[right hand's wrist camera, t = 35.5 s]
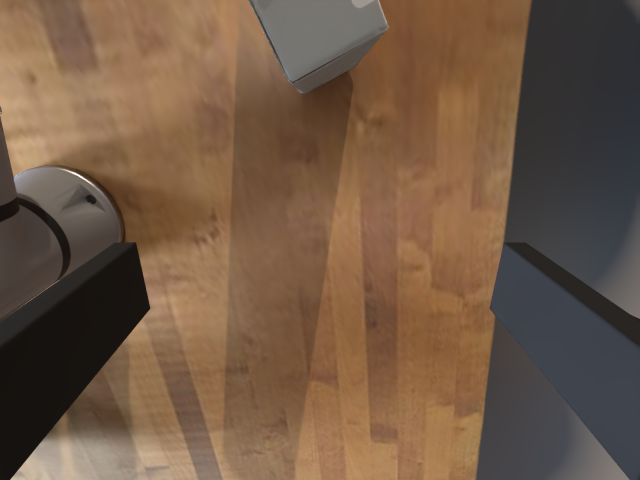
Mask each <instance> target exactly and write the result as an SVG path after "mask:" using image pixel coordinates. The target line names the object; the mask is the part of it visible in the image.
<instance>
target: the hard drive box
mask: <svg viewBox="0 0 640 480" xmlns="http://www.w3.org/2000/svg"><path fill="white" fill-rule="evenodd" d="M249 2H250V4H251V7H252V9H253V11H254V13H255V15H256V17H257V19H258V21H259V23H260V25H261V27H262V30H263V32H264V34H265V36H266V38H267V40H268V42H269V44H270V46H271V48H272V50H273V52H274V54H275V56H276V58H277V60H278V62H279V64H280V66H281V68H282V70H283V72H284V74H285V76H286V78H287V79H288V81H289V82H290V83H291V84H292V85H293V86H294V87H295V88H296V89H297V90H298V91H299V92H300V93H304V94H306V93H308V92H310V91H312V90H314V89H316V88H318V87H319V86H321V85H323V84H325V83H327V82H328V81H330V80H332V79H334V78H336V77H337V76H339V75H341V74H343V73H345V72H346V71H348V70H350V69H352V68H353V67H355V66H356V65H357V64H358V63H359V61H360V60H361V59H362V58H363V57H364V56H365V55H366V53H367V52H368V51H369V50H370V49H371V48H372V47H373V45H374V44H375V43H376V42H377V41H378V39H379V38H380V37H381V36H382V34H383V33H384V32H385V31H386V30H388V29H389V26H388V24H387V21H386V19H385V16H384V13H383V11H382V8H381V5H380V2H379V0H249Z"/></svg>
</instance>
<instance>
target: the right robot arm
mask: <svg viewBox="0 0 640 480" xmlns="http://www.w3.org/2000/svg"><path fill="white" fill-rule="evenodd" d="M0 113H2V110H1V107H0ZM123 239H124V223H123V218H122V215H121V212H120V210H119V208H118V206H117V204H116V202H115V200H114V199H113V198H112V196H111V195H110V194H109V192H108V191H107V190H106V189H105V188H104V187H103V186H102V185H101V184H99V183H98V182H97V181H96V180H94V179H93V178H91V177H90V176H88V175H86V174H85V173H83V172H80V171H78V170H76V169H73V168H69V167H65V166H59V165H47V166H41V167H36V168H32V169H28V170H26V171H24V172H22V173H20V174H18V175H16V176H14V177H13V173H12V168H11V164H10V159H9V154H8V150H7V145H6V141H5V136H4V131H3V127H2V122H1V118H0V480H10V479H11V478H12V477H13V476H14V474H15V473H16V472H17V471H18V469H19V468H20V467H21V466H22V465H23V463H24V462H25V461H26V460H27V458H28V457H29V456H30V455H31V454H32V452H33V451H34V450H35V449H36V447H37V446H38V445H39V444H40V443H41V441H42V440H43V439H44V438H45V437H46V435H47V434H48V433H49V432H50V430H51V429H52V428H53V427H54V426H55V424H56V423H57V422H58V421H59V419H60V418H61V417H62V416H63V415H64V413H65V412H66V411H67V410H68V408H69V407H70V406H71V405H72V404H73V402H74V401H75V400H76V399H77V397H78V396H79V395H80V394H81V393H82V391H83V390H84V389H85V388H86V386H87V385H88V384H89V383H90V382H91V380H92V379H93V378H94V377H95V375H96V374H97V373H98V372H99V371H100V369H101V368H102V367H103V366H104V364H105V363H106V362H107V361H108V360H109V358H110V357H111V356H112V355H113V353H114V352H115V351H116V350H117V349H118V347H119V346H120V345H121V344H122V342H123V341H124V340H125V339H126V338H127V336H128V335H129V334H130V333H131V331H132V330H133V329H134V328H135V327H136V325H137V324H138V323H139V322H140V320H141V319H142V318H143V317H144V316H145V314H146V313H147V312H148V311H149V309H150V305H149V300H148V296H147V291H146V286H145V282H144V277H143V272H142V268H141V263H140V259H139V254H138V249H137V245H136V243H123ZM58 280H60V281H58ZM56 281H58V282H57V283H55V282H56ZM53 283H55V284H54V285H52V284H53ZM51 285H52V286H51ZM49 286H51V287H49ZM48 287H49V288H48ZM46 288H48V289H46ZM45 289H46V290H45ZM44 290H45V291H44ZM42 291H44V292H42ZM41 292H42V293H41ZM39 293H41V294H39ZM38 294H39V295H38ZM37 295H38V296H37ZM35 296H36V297H35ZM34 297H35V298H34ZM32 298H33V299H32ZM31 299H32V300H31ZM28 301H29V302H28ZM27 302H28V303H27ZM25 303H26V304H25ZM24 304H25V305H24ZM22 305H23V306H22ZM21 306H22V307H21ZM18 308H19V309H18ZM490 309H491V311H492V312H493V313H494V314H495V316H496V317H497V318H498V319H499V320H500V322H501V323H502V324H503V325H504V327H505V328H506V329H507V330H508V331H509V333H510V334H511V335H512V336H513V337H514V339H515V340H516V341H517V342H518V344H519V345H520V346H521V347H522V349H523V350H524V351H525V352H526V353H527V355H528V356H529V357H530V358H531V360H532V361H533V362H534V363H535V364H536V366H537V367H538V368H539V369H540V371H541V372H542V373H543V374H544V375H545V377H546V378H547V379H548V380H549V381H550V383H551V384H552V385H553V386H554V388H555V389H556V390H557V391H558V393H559V394H560V395H561V396H562V397H563V399H564V400H565V401H566V402H567V404H568V405H569V406H570V407H571V408H572V410H573V411H574V412H575V413H576V414H577V416H578V417H579V418H580V419H581V421H582V422H583V423H584V424H585V425H586V427H587V428H588V429H589V430H590V432H591V433H592V434H593V435H594V436H595V438H596V439H597V440H598V441H599V443H600V444H601V445H602V446H603V447H604V449H605V450H606V451H607V452H608V454H609V455H610V456H611V457H612V458H613V460H614V461H615V462H616V463H617V465H618V466H619V467H620V468H621V469H622V471H623V472H624V473H625V474H626V476H627V477H628V478H629V479H630V480H640V319H638V318H636V317H634V316H632V315H630V314H628V313H627V312H626V311H624V310H623V309H621V308H620V307H618V306H617V305H615V304H614V303H612V302H611V301H610V300H608V299H607V298H605V297H604V296H602V295H601V294H599V293H598V292H596V291H595V290H593V289H592V288H591V287H589V286H588V285H586V284H585V283H583V282H582V281H580V280H579V279H578V278H576V277H575V276H573V275H572V274H570V273H569V272H567V271H566V270H565V269H563V268H562V267H560V266H559V265H557V264H556V263H554V262H553V261H551V260H550V259H548V258H547V257H546V256H544V255H543V254H541V253H540V252H538V251H537V250H535V249H534V248H533V247H531V246H530V245H528V244H527V243H504V245H503V249H502V254H501V259H500V263H499V268H498V272H497V277H496V282H495V286H494V291H493V296H492V300H491V305H490ZM15 310H16V311H15ZM11 313H12V314H11ZM8 315H9V316H8ZM5 317H6V318H5Z"/></svg>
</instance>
